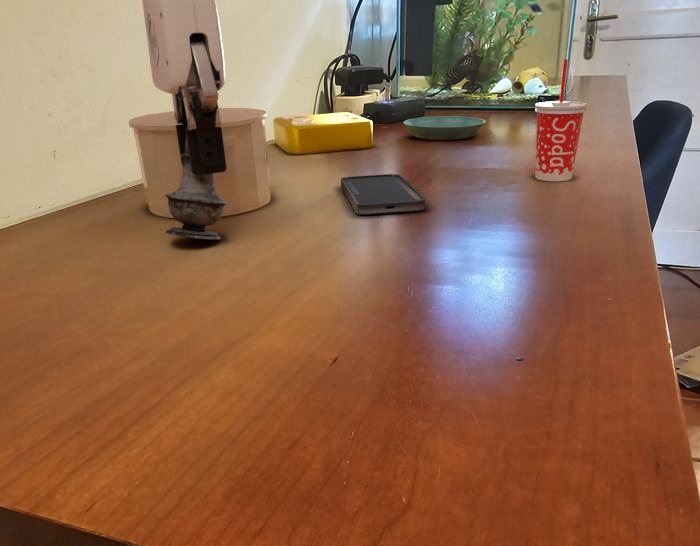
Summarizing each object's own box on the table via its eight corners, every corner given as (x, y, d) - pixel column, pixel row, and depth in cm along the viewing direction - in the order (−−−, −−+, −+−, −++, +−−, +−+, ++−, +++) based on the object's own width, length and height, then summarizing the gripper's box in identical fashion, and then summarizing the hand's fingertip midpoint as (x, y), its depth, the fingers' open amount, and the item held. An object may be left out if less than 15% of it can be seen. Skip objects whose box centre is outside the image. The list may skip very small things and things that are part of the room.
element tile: (376, 148, 108) (375, 118, 106) (289, 156, 105) (286, 125, 102) (351, 136, 121) (350, 109, 119) (273, 142, 117) (270, 115, 115)
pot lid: (143, 141, 65) (132, 78, 62) (121, 125, 77) (111, 72, 75) (287, 126, 71) (282, 68, 68) (244, 113, 83) (239, 64, 81)
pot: (167, 231, 67) (151, 137, 63) (136, 194, 83) (121, 118, 79) (296, 211, 73) (289, 123, 68) (243, 180, 89) (235, 107, 85)
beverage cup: (524, 181, 82) (534, 61, 75) (533, 171, 87) (544, 58, 80) (574, 183, 79) (589, 60, 73) (581, 173, 84) (595, 57, 78)
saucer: (478, 143, 108) (479, 127, 107) (394, 142, 113) (394, 126, 112) (489, 130, 121) (490, 115, 120) (413, 129, 125) (413, 115, 124)
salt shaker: (150, 229, 62) (159, 100, 60) (200, 233, 67) (210, 113, 64) (185, 238, 59) (196, 101, 56) (236, 241, 63) (248, 114, 60)
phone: (398, 173, 83) (427, 200, 70) (398, 182, 84) (427, 210, 70) (338, 177, 82) (356, 205, 69) (339, 186, 83) (356, 215, 69)
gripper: (113, -43, 59) (150, 161, 67) (142, -69, 45) (183, 191, 54) (194, -44, 62) (219, 152, 70) (244, -68, 48) (268, 179, 56)
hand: (203, 167), depth 62 cm, fingers closed on salt shaker, 3 cm apart
